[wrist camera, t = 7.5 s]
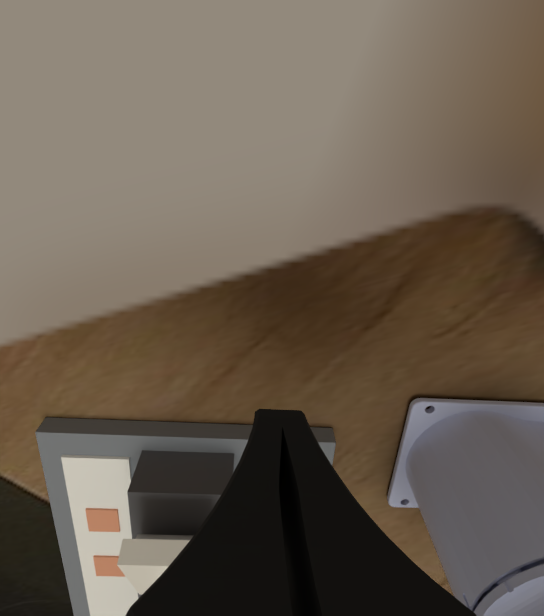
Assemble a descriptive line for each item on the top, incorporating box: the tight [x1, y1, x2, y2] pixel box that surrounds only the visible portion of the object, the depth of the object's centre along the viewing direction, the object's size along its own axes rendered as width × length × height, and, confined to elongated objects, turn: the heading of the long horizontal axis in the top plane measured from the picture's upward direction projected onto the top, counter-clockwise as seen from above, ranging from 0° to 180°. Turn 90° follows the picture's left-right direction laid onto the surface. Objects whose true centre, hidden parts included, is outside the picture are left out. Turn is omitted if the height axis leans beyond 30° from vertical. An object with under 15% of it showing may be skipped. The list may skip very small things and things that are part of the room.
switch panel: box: [35, 417, 336, 616], centre depth 27 cm, size 16×25×4 cm, turn 176°
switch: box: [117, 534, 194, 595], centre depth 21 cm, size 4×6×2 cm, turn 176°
